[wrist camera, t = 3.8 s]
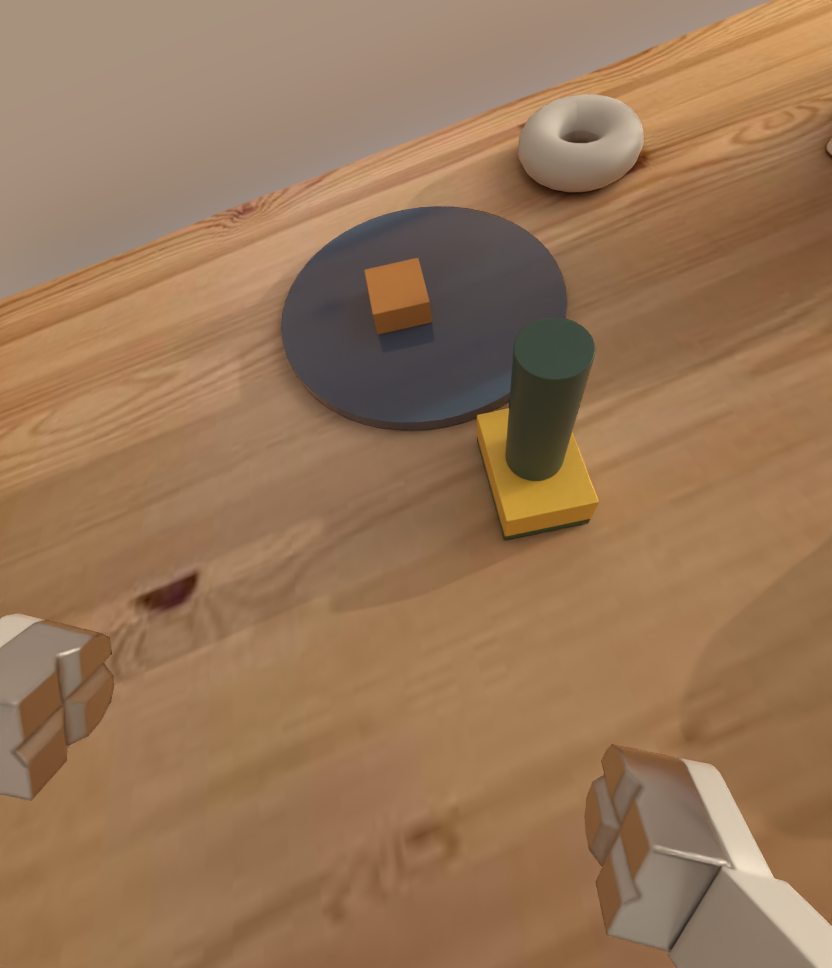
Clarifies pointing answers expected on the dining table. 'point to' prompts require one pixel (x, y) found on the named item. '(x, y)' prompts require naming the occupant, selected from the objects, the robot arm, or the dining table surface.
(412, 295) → the orange block
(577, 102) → the donut
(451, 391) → the plate
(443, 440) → the dining table surface
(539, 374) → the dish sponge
